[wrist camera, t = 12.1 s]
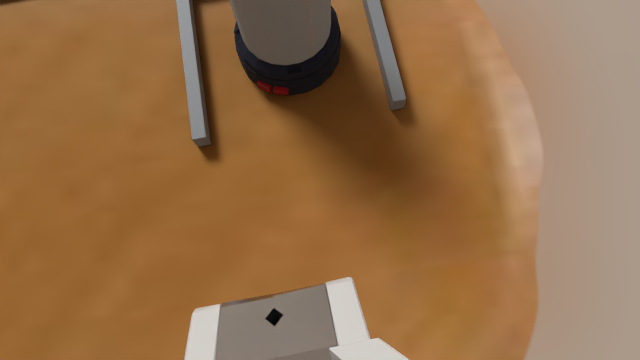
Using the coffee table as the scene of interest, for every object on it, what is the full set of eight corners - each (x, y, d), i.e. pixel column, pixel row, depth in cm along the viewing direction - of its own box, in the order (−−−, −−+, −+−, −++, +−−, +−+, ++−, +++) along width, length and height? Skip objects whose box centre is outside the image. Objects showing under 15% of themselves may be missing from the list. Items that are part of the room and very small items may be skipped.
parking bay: (198, 146, 36) (192, 139, 35) (179, -14, 41) (173, -26, 39) (403, 107, 36) (406, 99, 35) (362, -47, 41) (363, -61, 39)
